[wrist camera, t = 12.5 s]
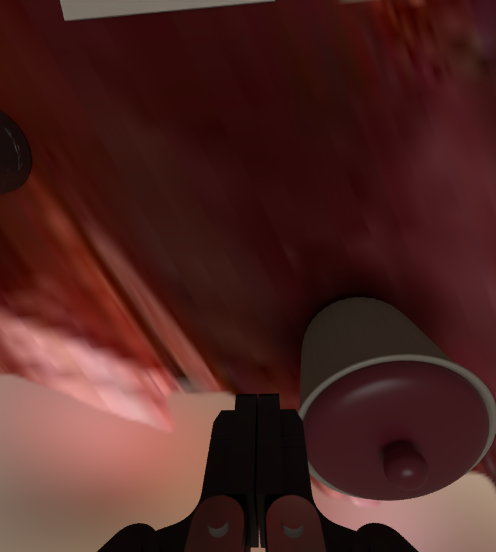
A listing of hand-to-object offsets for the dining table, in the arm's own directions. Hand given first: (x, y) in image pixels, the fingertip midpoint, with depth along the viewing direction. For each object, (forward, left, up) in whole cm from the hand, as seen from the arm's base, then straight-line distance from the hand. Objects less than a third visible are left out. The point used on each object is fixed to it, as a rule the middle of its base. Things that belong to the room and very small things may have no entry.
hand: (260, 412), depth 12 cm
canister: (+11, -18, -31) cm, 38 cm away
